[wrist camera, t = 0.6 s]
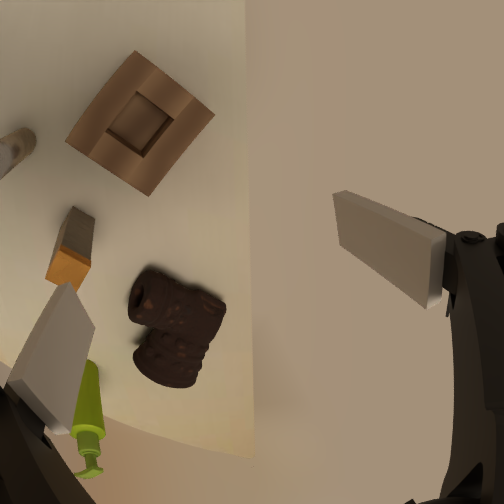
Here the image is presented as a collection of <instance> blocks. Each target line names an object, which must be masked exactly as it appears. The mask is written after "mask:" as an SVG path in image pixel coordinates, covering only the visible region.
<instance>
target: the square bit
mask: <svg viewBox="0 0 504 504" xmlns="http://www.w3.org/2000/svg"><path fill="white" fill-rule="evenodd" d="M94 224H95V219H94V218H92V217H91V216H89V215H87V214H86V213H84V212H82V211H81V210H79V209H77V208H76V207H74V206H73V207H72V208H71V210H70V212H69V213H68V215H67V217H66V219H65V221H64V222H63V224H62V226H61V228H60V231H59V234H58V237H57V240H56V244H55V247H54V250H53V253H52V257H51V260H50V264H49V268H48V270H47V273H46V277H45V279H47V280H48V281H50V282H52V283H54V284H56V285H58V286H59V285H62V284H64V283H67V282H71V284H72V286H73V288H74V290H75V292H77V290H78V289H79V287H80V285H81V283H82V282H83V280H84V278H85V276H86V275H87V273H88V271H89V270H90V268H91V251H92V241H93V232H94Z"/></svg>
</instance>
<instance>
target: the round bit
mask: <svg viewBox="0 0 504 504" xmlns="http://www.w3.org/2000/svg"><path fill="white" fill-rule="evenodd" d="M35 146H36V136H35V134H34V132H33V131H32V130H30V129H28V128H22V129H19V130H17V131H15V132H13V133H11V134H9V135H7V136H5V137H3V138H1V139H0V180H1V179H2V178H3V177H4V176H5V175H6V174H7V173H8V172H10V171H11V170H12V169H13V168H14V167H15V166H16V165H18V164H19V163H20V162H21V161H22V160H24V159H25V158H26V157H27V156H28V155H30V154H31V153H32V152H33V150H34V149H35Z"/></svg>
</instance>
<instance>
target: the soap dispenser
mask: <svg viewBox="0 0 504 504" xmlns="http://www.w3.org/2000/svg"><path fill="white" fill-rule="evenodd" d="M69 434H70V435H71V436H72V437H73V438H75V439H77V443H78V451H79V454H80V455H81V456H83V457H85V461H86V468H87V469H85V470H83V471H81V472H79V473H74V476H76V477H80V478H84V479H89V478H93V477H95V476H97V475H99V474H101V473H103V468H99V467H98V466H97V461H96V457H98V456H100V455H101V452H100V447H99V440H101V439H103V438H104V437H105V435H106V434H105V427H104V420H103V413H102V405H101V397H100V387H99V377H98V368H97V366H96V365H95V364H94V363H93V362H92V361H90V360H86V364H85V368H84V372H83V376H82V380H81V384H80V389H79V393H78V398H77V403H76V408H75V413H74V418H73V424H72V429H71V433H69Z"/></svg>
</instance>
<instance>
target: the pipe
mask: <svg viewBox="0 0 504 504" xmlns="http://www.w3.org/2000/svg"><path fill="white" fill-rule="evenodd" d="M225 313H226V304H225V303H224V302H222V301H220V300H218V299H216V298H214V297H212V296H210V295H208V294H207V293H205V292H203V291H201V290H188V289H186V288H184V287H183V286H182V285H181V284H177V283H176V282H175V280H173V279H171V278H168V277H167V276H166V275H163V274H162V273H160V272H159V273H157V272H155V271H153V270H149V271H146V272H145V273H143V274H142V275H140V277H139V278H138V279H137V281H136V282H135V284H134V286H133V288H132V291H131V294H130V298H129V304H128V316H129V319H130V320H131V321H132V322H134V323H138V324H140V325H145V326H147V327H154V329H153V330H152V332H151V334H150V335H148V336H147V338H146V341H145V342H144V343H143V344H141V345H140V346H139V348H138V349H136V350H135V351H134V353H133V361H134V363H135V365H136V367H137V368H138V369H139V371H140V372H141V373H142V374H143V375H145V376H146V377H147V378H149V379H150V380H152V381H154V382H156V383H158V384H160V385H163V386H166V387H171V388H188V387H191V386H192V385H194V384H195V382H196V378H197V376H198V371H200V370H201V368H202V360H203V359H204V356H205V352H206V351H207V350H208V349H209V343H210V342H211V341H212V340H213V339H214V337H215V335H216V333H217V332H218V330H219V328H220V326H221V323H222V320H223V317H224V315H225Z"/></svg>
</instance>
